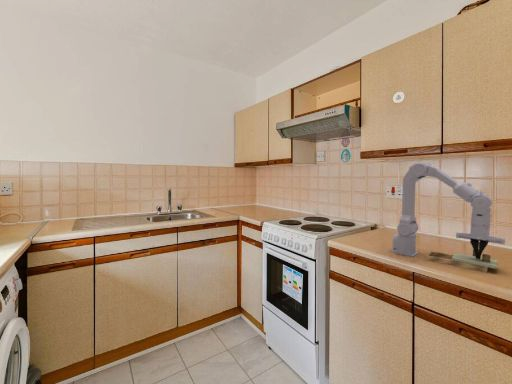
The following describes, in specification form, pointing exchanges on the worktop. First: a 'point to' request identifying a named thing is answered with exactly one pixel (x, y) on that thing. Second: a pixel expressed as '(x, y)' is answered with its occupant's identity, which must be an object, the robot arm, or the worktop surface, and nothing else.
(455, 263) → the shallow wooden tray
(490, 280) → the worktop surface
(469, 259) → the lid
